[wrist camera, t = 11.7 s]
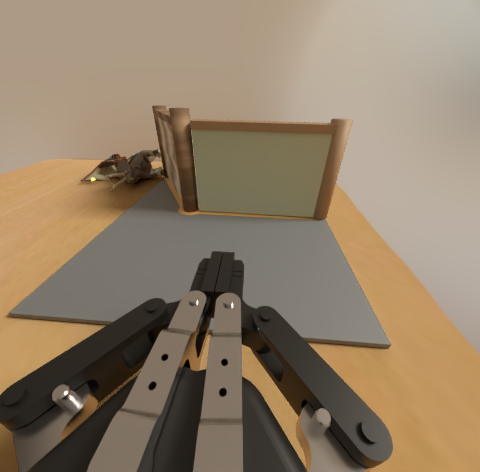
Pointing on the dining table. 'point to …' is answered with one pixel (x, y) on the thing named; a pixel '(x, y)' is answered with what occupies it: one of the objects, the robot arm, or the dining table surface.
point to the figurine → (127, 168)
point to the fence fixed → (177, 152)
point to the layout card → (201, 246)
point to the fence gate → (268, 165)
